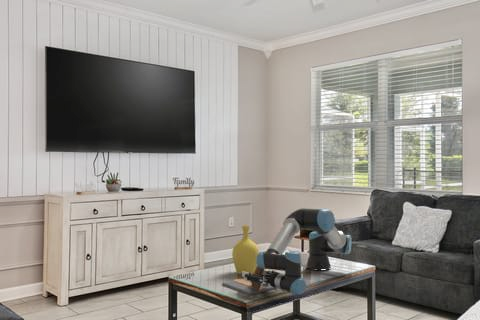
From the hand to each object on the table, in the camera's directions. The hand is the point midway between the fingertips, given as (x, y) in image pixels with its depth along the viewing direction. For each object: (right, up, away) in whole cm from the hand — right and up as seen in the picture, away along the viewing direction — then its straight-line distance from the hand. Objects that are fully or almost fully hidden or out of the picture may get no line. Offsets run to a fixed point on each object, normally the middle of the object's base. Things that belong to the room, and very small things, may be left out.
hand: (251, 272), depth 240 cm
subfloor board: (-1, -8, +1) cm, 8 cm away
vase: (-2, -9, +33) cm, 34 cm away
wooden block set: (+4, -7, -4) cm, 9 cm away
